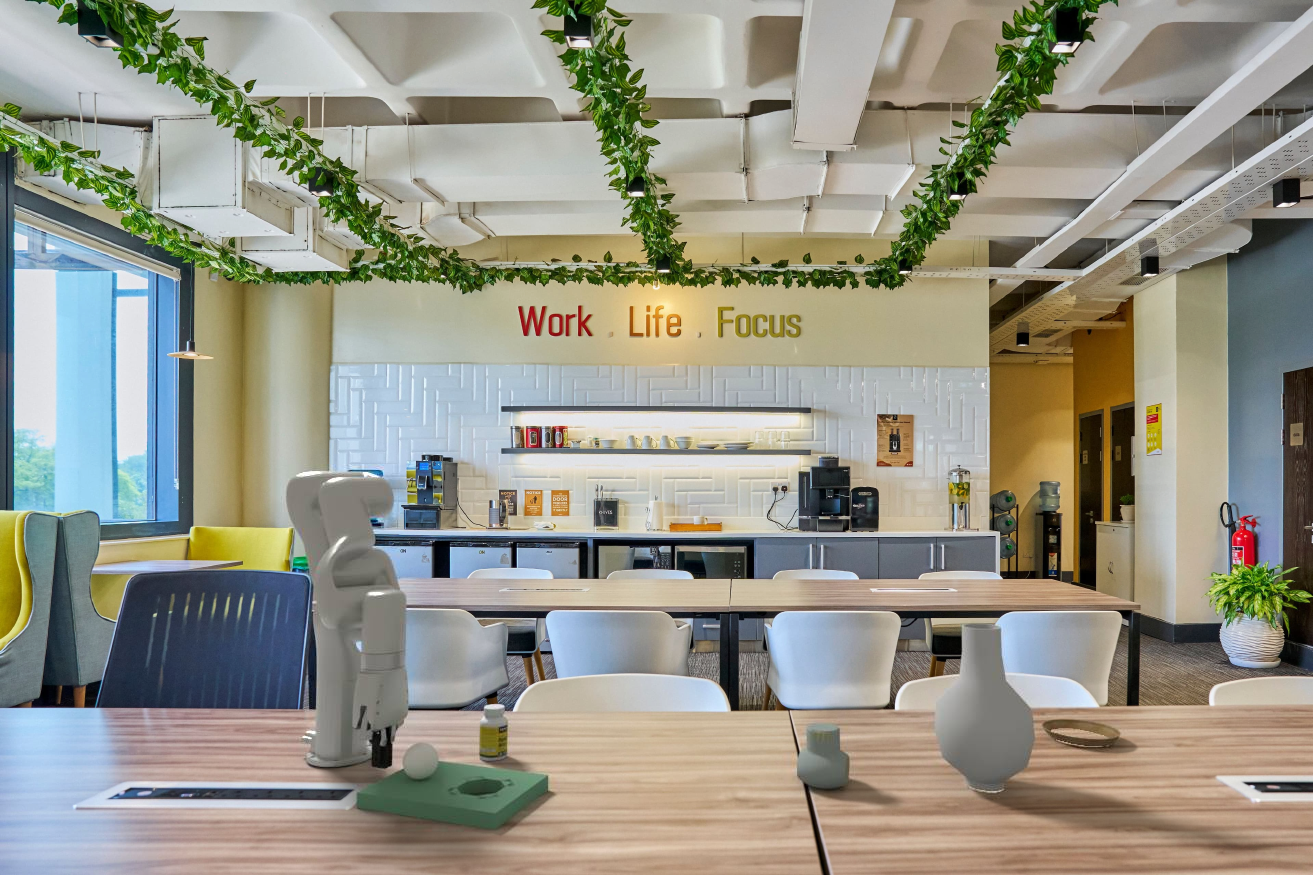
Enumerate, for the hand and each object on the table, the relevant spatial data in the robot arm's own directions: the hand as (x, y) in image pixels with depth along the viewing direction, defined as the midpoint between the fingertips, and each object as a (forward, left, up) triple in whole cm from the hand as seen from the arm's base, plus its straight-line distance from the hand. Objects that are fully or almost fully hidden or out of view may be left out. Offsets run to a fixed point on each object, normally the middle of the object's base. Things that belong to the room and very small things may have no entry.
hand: (381, 766), depth 146 cm
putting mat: (+15, 0, -4) cm, 15 cm away
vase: (+100, +36, -4) cm, 106 cm away
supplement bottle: (+10, +21, -4) cm, 24 cm away
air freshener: (+73, +28, -4) cm, 78 cm away
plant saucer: (+120, +72, -4) cm, 140 cm away
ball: (+8, 0, +2) cm, 8 cm away
